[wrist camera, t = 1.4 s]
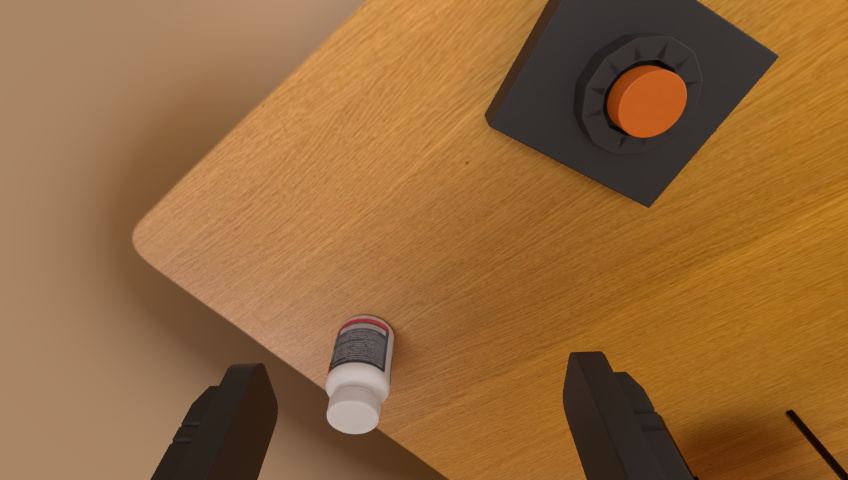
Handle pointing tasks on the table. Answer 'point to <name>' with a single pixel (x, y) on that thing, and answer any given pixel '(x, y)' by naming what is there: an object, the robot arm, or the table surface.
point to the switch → (646, 101)
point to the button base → (603, 65)
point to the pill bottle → (359, 374)
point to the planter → (845, 478)
